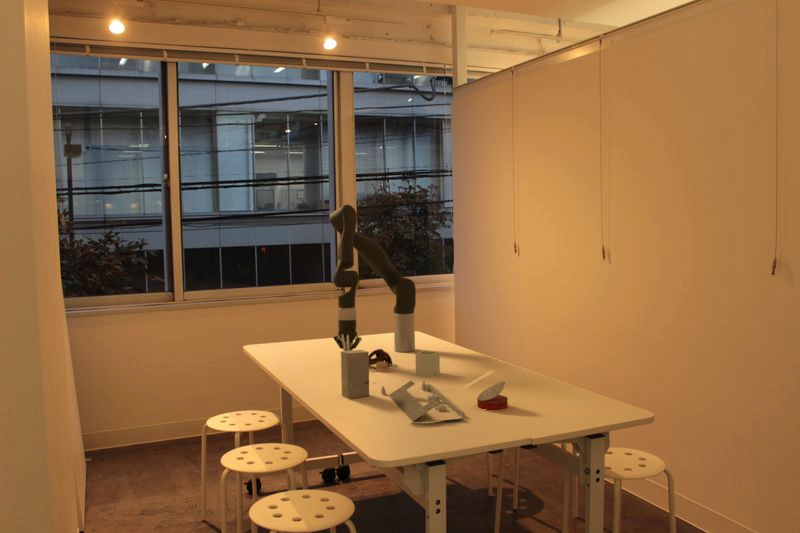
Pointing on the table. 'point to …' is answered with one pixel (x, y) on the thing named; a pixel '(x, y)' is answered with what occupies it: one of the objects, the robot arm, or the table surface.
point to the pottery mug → (379, 357)
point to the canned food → (493, 398)
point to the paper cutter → (416, 408)
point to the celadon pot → (427, 363)
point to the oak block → (381, 366)
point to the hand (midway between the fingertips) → (348, 358)
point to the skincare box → (355, 373)
